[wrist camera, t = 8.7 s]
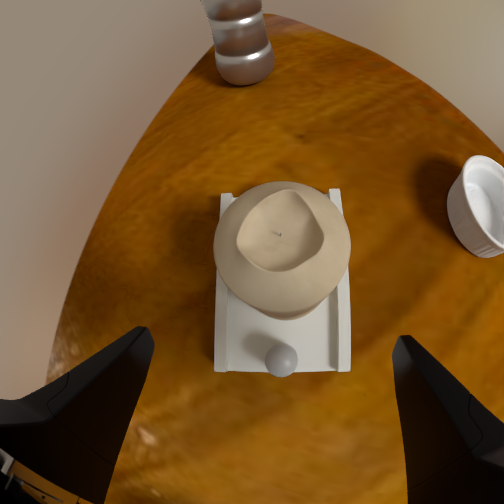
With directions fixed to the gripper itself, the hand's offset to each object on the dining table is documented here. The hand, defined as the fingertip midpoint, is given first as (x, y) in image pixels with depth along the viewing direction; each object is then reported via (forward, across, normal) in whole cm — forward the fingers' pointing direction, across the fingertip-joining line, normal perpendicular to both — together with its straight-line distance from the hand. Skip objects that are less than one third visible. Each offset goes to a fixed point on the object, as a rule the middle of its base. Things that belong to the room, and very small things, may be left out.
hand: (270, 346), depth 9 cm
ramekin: (+15, -19, 0) cm, 24 cm away
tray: (+10, 0, +4) cm, 11 cm away
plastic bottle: (+27, +4, -13) cm, 30 cm away
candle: (+10, 0, +4) cm, 10 cm away
